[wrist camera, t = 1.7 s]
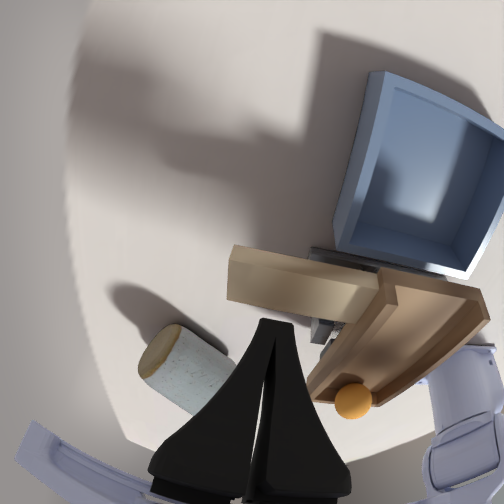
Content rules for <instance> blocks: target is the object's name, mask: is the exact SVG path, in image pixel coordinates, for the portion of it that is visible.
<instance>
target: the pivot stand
mask: <svg viewBox="0 0 504 504" xmlns="http://www.w3.org/2000/svg"><path fill="white" fill-rule="evenodd" d="M307 260H312V261H317V262H322V263H327V264H332V265H337V266H342V267H346V268H351V269H356V270H361V271H366V272H371V273H375V274H377V273H378V271H379V269H380V267H384V268H389V269H394V270H398V271H403V272H407V273H412V274H416V275H421V276H425V277H430V278H434V279H439V280H443V281H447V279H446V277H445V276H441V275H436V274H432V273H428V272H423V271H419V270H414V269H410V268H406V267H401V266H397V265H392V264H388V263H383V262H379V261H374V260H370V259H365V258H360V257H356V256H351V255H347V254H342V253H337V252H333V251H328V250H323V249H318V248H314V247H311V249H310V253H309V256H308V259H307ZM333 328H334V321H333V320H327V319H321V318H315V317H311V342H310V343H315V344H322V345H325V343H326V341H327V339H328V337H329V336H330V334H331V332H332V330H333Z"/></svg>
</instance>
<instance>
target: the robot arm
mask: <svg viewBox="0 0 504 504" xmlns="http://www.w3.org/2000/svg"><path fill="white" fill-rule="evenodd" d="M496 350H497V349H496V347H489V346H472V345H464V346H463V347H461V348H460V349H459V350H458V351H457V352H456V353H454V354H453V355H452V356H451V357H450V358H448V359H447V360H446V361H445V362H443V363H442V364H441V365H440V366H438V367H437V368H436V369H434V370H433V371H432V372H430V373H429V374H428V375H426V376H425V377H424V378H422V379H421V380H420V381H418V382H417V383H415V384H428V386H429V392H430V397H431V403H432V410H433V417H434V424H435V432H436V437H434V438H432V439H431V443H432V445H430V446H429V447H428V448H427V450H426V453H425V454H424V457H423V461H422V475H423V481H424V483H425V486H426V490H427V498H426V499H422V500H420V501H416V502H411V503H406V504H492V497H493V496H494V495H495V494H496V492H497V491H498V490H499V489H500V488H501V487H502V485H503V484H504V414H501V413H500V412H501V410H502V408H503V405H504V387H503V384H502V380H501V377H500V374H499V371H498V368H497V365H496V362H495V359H494V356H493V354H494V353H495V352H496ZM263 383H264V389H263V400H262V411H261V419H260V424H259V429H258V434H257V439H256V444H255V448H254V453H253V457H252V452H253V445H254V439H255V432H256V425H257V419H258V413H259V406H260V400H261V394H262V387H263ZM14 459H15V461H16V462H17V463H18V464H20V465H21V466H22V467H23V468H25V469H26V470H27V471H28V472H30V473H31V474H32V475H34V476H35V477H36V478H37V479H39V480H40V481H41V482H42V483H44V484H45V485H46V486H48V487H49V488H50V489H52V490H53V491H54V492H56V493H57V494H58V495H60V496H61V497H62V498H64V499H65V500H66V501H68V502H69V503H71V504H162V503H158V502H156V501H152V500H149V499H146V498H145V495H144V494H143V493H145V494H148V495H150V496H153V497H156V498H159V499H162V500H165V501H168V502H171V503H175V504H230V501H231V500H234V499H235V498H241V497H242V502H241V503H243V504H337V499H338V498H339V497H343V496H347V495H349V494H350V493H351V488H352V487H351V476H350V471H349V469H348V468H347V466H346V465H345V463H344V462H343V461H342V459H341V457H340V456H339V454H338V453H337V451H336V449H335V448H334V446H333V444H332V443H331V441H330V439H329V437H328V435H327V433H326V431H325V429H324V427H323V425H322V423H321V421H320V419H319V417H318V415H317V412H316V410H315V408H314V405H313V403H312V400H311V397H310V395H309V392H308V389H307V386H306V383H305V379H304V376H303V373H302V369H301V365H300V361H299V357H298V352H297V347H296V341H295V335H294V325H293V324H292V323H288V322H282V321H277V320H272V319H267V318H261V319H260V320H259V324H258V327H257V330H256V332H255V335H254V337H253V339H252V341H251V343H250V345H249V346H248V348H247V350H246V352H245V353H244V355H243V357H242V359H241V360H240V362H239V363H238V365H237V366H236V368H235V369H234V370H233V372H232V373H231V375H230V376H229V377H228V379H227V380H226V381H225V383H224V384H223V385H222V386H221V388H220V389H219V390H218V391H217V392H216V394H215V395H214V396H213V397H212V398H211V399H210V400H209V401H208V402H207V404H206V405H205V406H204V407H203V408H202V409H201V410H200V411H199V412H198V413H197V414H196V415H194V416H193V417H192V418H191V419H190V420H189V421H188V422H187V423H186V424H185V425H184V426H182V427H181V428H180V429H179V430H178V431H176V432H175V433H174V434H172V435H171V436H170V437H169V438H167V439H166V440H165V441H164V442H163V443H162V445H161V446H160V447H159V448H158V450H157V451H156V452H155V454H154V455H153V457H152V459H151V462H150V464H149V467H148V472H149V473H150V474H151V475H153V476H154V479H153V483H152V482H149V481H147V480H144V479H141V478H139V477H136V476H133V475H131V474H129V473H126V472H124V471H122V470H119V469H117V468H115V467H113V466H111V465H108V464H106V463H104V462H102V461H100V460H98V459H96V458H94V457H92V456H90V455H88V454H86V453H85V452H83V451H81V450H79V449H77V448H76V447H74V446H72V445H70V444H69V443H67V442H65V441H64V440H62V439H61V438H60V437H58V436H57V435H55V434H54V433H52V432H51V431H49V430H48V429H46V428H45V427H43V426H42V425H40V424H39V423H38V422H36V421H34V420H32V421H31V423H30V425H29V427H28V429H27V431H26V433H25V435H24V437H23V439H22V442H21V444H20V446H19V448H18V451H17V453H16V455H15V458H14ZM251 459H252V461H251ZM250 465H251V466H250ZM495 468H497V469H496V471H495V472H494V473H493V474H491V475H489V476H487V477H485V478H483V479H480V480H478V481H475V482H473V483H470V484H467V485H465V486H462V487H459V488H450V487H451V486H454V485H457V484H460V483H462V482H465V481H468V480H470V479H472V478H475V477H477V476H480V475H482V474H484V473H487V472H489V471H491V470H493V469H495Z"/></svg>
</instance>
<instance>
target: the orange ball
mask: <svg viewBox="0 0 504 504" xmlns="http://www.w3.org/2000/svg"><path fill="white" fill-rule="evenodd" d="M371 404H372V395H371V392H370V391H369V389H368V388H367V387H366V386H364V385H362V384H359V383H351V384H348V385H346V386H344V387H343V388H341V389H340V390H339V392H338V393H337V395H336V397H335V408H336V411H337V412H338V414H339V415H340V416H342V417H344V418H346V419H357V418H360V417H362V416H363V415H365V414H366V413H367V412H368V410H369V409H370V407H371Z"/></svg>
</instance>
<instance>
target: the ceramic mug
mask: <svg viewBox="0 0 504 504" xmlns="http://www.w3.org/2000/svg"><path fill="white" fill-rule="evenodd" d="M235 368H236V364H235V363H234V361H233V360H232V359H230V358H228V357H227V356H225V355H224V354H222V353H221V352H220V351H218V350H217V349H215V348H214V347H212V346H211V345H209V344H208V343H206V342H205V341H204V340H202V339H201V338H199V337H198V336H197V335H195V334H194V333H193V332H191V331H190V330H188V329H187V328H185V327H183V326H181V325H178V324H171V325H168V326H167V327H165V328H164V329H162V330H161V331H160V332H159V333H158V334H157V335H156V336H155V338H154V339H153V340H152V341H151V342H150V344H149V345H148V347H147V348H146V350H145V351H144V353H143V355H142V357H141V359H140V361H139V364H138V373H139V375H140V377H141V378H142V379H143V380H144V381H145V382H146V383H147V384H148V385H149V386H150V387H151V388H153V389H154V390H156V391H157V392H158V393H160V394H161V395H163V396H164V397H166V398H167V399H169V400H170V401H172V402H173V403H175V404H176V405H178V406H179V407H181V408H182V409H184V410H185V411H187V412H188V413H190V414H191V415H193V416H194V415H196V414H197V413H198V412H199V411H200V410H201V409H202V408H203V407H204V406H205V405H206V404H207V402H208V401H209V400H210V399H211V398H212V397H213V396H214V395H215V394H216V392H217V391H218V390H219V389H220V388H221V386H222V385H223V384H224V383H225V381H226V380H227V379H228V377H229V376H230V375H231V373H232V372H233V370H234V369H235Z"/></svg>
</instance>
